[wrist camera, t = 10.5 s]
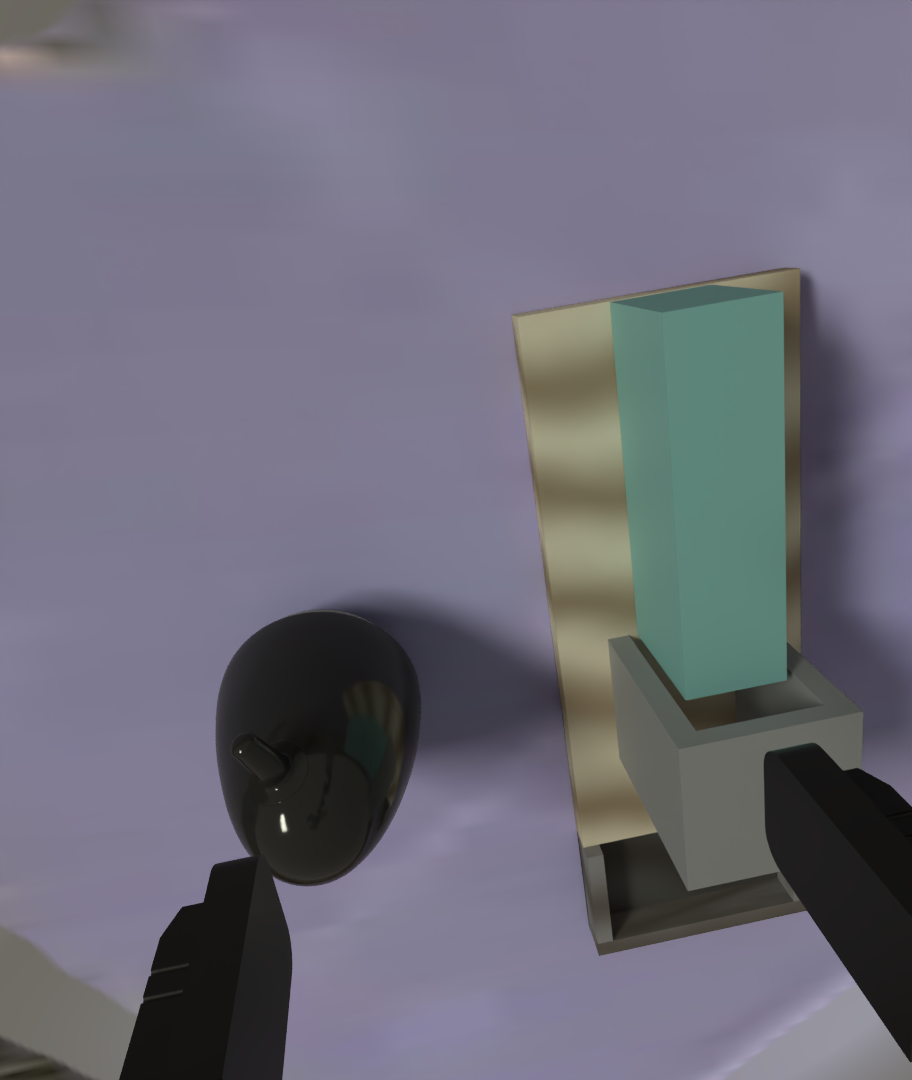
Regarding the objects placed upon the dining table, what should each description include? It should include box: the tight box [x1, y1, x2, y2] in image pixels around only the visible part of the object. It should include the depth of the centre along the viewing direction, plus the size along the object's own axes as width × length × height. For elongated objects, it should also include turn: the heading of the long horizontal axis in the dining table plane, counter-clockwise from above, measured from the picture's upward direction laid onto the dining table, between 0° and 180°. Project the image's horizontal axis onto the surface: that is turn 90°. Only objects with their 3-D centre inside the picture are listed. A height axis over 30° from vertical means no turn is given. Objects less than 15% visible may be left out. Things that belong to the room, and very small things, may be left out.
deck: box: [512, 268, 807, 956], centre depth 46 cm, size 40×14×2 cm, turn 9°
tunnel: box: [608, 635, 863, 891], centre depth 41 cm, size 8×8×10 cm
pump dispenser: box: [216, 609, 421, 886], centre depth 38 cm, size 10×10×15 cm
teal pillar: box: [610, 285, 787, 701], centre depth 38 cm, size 18×5×7 cm, turn 9°
